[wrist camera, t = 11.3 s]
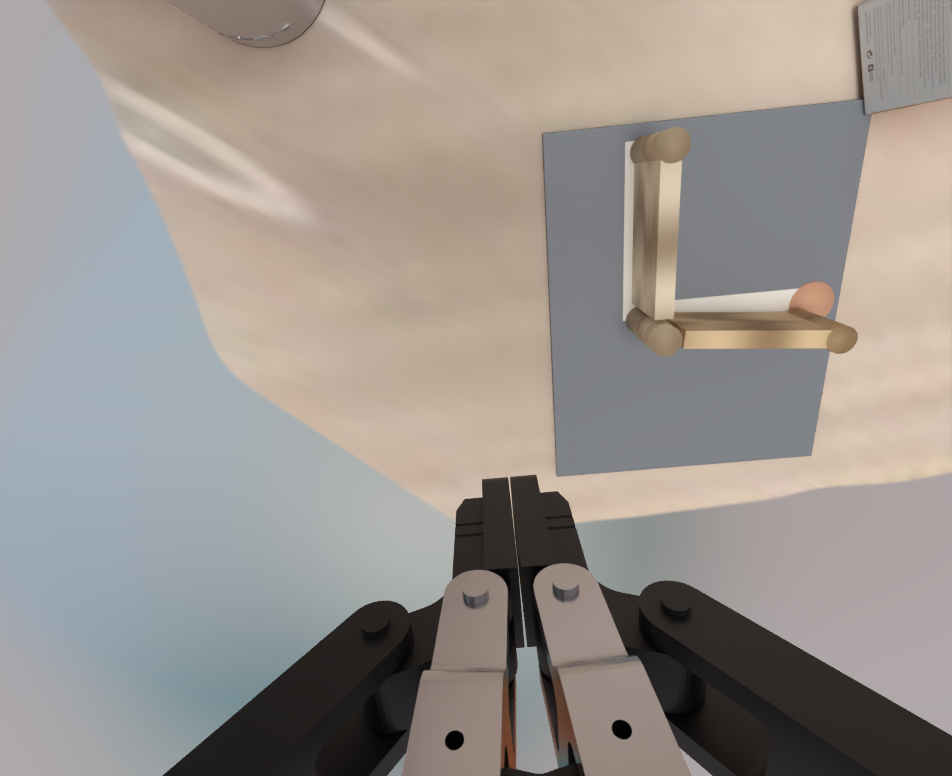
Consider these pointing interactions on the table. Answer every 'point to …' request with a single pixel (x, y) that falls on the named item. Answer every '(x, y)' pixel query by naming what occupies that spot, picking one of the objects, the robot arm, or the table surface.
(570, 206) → the card
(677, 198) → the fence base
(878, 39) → the small box
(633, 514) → the table surface
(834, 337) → the fence gate
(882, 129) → the table surface
